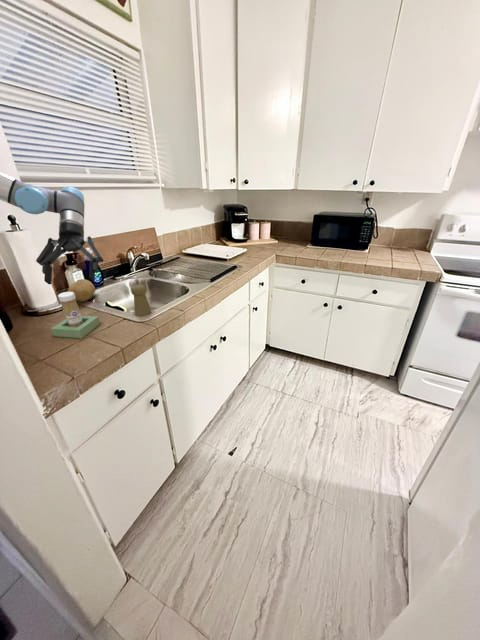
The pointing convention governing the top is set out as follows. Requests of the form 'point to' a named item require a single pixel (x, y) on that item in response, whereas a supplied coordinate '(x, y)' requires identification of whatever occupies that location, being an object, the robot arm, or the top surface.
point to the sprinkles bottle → (70, 309)
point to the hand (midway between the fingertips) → (70, 281)
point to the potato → (82, 290)
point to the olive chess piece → (140, 300)
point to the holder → (76, 332)
